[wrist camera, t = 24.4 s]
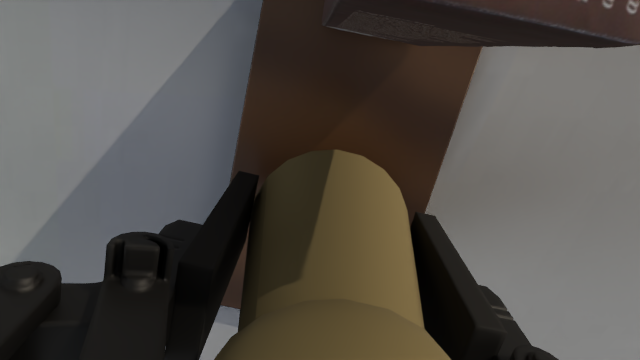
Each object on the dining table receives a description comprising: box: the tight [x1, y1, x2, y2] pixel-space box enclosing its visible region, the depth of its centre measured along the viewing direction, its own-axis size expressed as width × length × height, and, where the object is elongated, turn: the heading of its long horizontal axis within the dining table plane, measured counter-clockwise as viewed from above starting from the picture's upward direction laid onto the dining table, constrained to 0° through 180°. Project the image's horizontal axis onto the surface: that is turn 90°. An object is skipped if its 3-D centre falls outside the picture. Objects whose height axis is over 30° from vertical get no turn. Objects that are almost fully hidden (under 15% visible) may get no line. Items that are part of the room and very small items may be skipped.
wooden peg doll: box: [214, 150, 451, 360], centre depth 11 cm, size 6×6×11 cm
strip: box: [221, 0, 483, 309], centre depth 17 cm, size 24×9×1 cm, turn 166°
